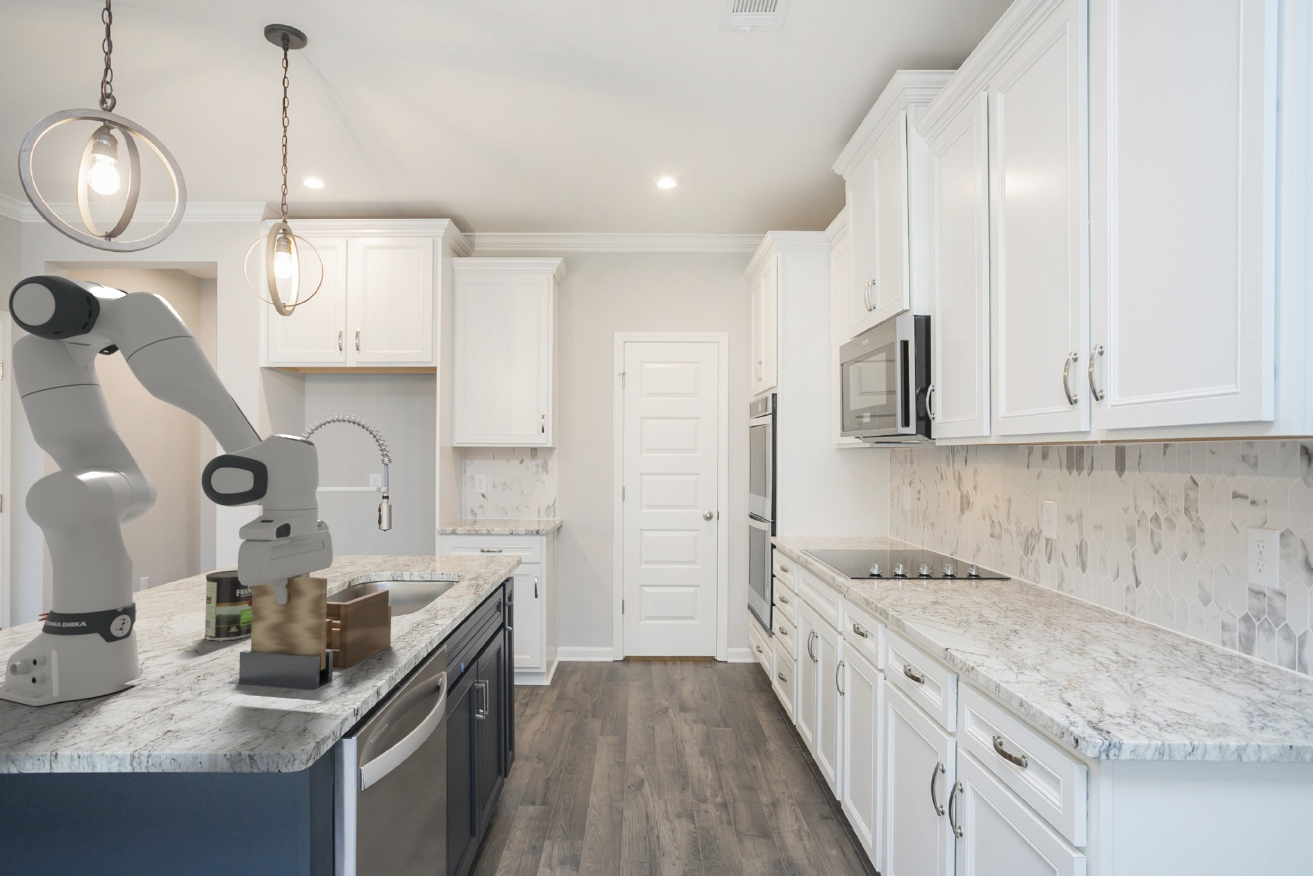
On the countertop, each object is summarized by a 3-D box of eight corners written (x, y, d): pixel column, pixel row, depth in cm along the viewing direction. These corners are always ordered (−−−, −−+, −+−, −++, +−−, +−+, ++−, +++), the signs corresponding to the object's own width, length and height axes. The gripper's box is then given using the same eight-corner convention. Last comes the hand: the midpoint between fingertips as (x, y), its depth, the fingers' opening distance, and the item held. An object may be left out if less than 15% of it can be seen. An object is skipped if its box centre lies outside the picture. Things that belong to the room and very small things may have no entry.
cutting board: (250, 665, 122) (252, 576, 122) (255, 663, 123) (257, 575, 123) (320, 670, 119) (322, 579, 120) (325, 668, 121) (327, 578, 121)
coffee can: (267, 630, 159) (269, 570, 159) (233, 642, 149) (235, 578, 149) (228, 628, 161) (230, 568, 161) (192, 639, 150) (194, 576, 151)
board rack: (252, 670, 130) (254, 599, 130) (308, 647, 146) (309, 584, 146) (344, 677, 127) (346, 605, 127) (391, 653, 143) (392, 588, 143)
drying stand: (226, 691, 119) (227, 654, 119) (260, 677, 126) (261, 641, 127) (313, 698, 116) (314, 660, 116) (342, 683, 124) (343, 647, 124)
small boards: (275, 659, 132) (276, 618, 133) (291, 652, 137) (292, 613, 137) (342, 664, 130) (344, 622, 130) (356, 657, 134) (357, 616, 135)
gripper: (313, 518, 133) (311, 589, 132) (231, 530, 112) (228, 613, 112) (342, 519, 132) (340, 591, 131) (264, 531, 111) (262, 615, 111)
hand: (288, 601), depth 121 cm, fingers closed on cutting board, 1 cm apart
